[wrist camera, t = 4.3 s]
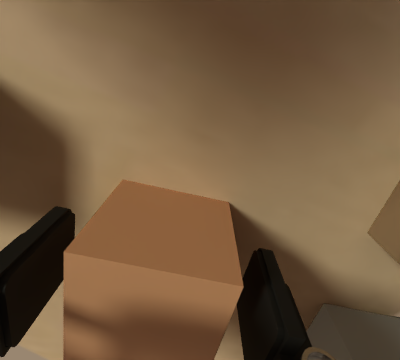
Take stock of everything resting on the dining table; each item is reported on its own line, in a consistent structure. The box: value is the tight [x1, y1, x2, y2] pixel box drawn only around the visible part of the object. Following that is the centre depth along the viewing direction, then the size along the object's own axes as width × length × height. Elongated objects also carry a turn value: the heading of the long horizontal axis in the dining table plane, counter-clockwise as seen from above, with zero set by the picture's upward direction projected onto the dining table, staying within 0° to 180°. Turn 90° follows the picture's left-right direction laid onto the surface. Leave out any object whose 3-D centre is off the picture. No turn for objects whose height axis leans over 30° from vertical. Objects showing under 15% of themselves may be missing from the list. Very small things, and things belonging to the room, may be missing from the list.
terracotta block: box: [64, 180, 244, 360], centre depth 10 cm, size 5×5×5 cm
